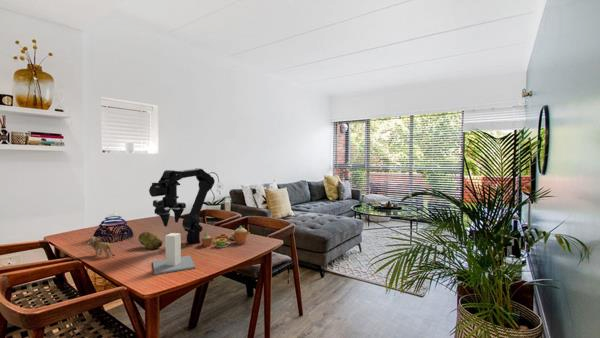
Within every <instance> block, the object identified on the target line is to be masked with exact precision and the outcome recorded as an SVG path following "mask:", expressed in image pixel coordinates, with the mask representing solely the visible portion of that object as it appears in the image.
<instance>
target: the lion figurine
mask: <svg viewBox="0 0 600 338" xmlns="http://www.w3.org/2000/svg"><path fill="white" fill-rule="evenodd" d="M101 239H102V238H100V237H99V238H97V237H93V236H91V237H90V238H89V240H88V241H87V242H86V244H87V245H88V246H89V247H90V246H91V247H92V248H93V250H94V251H95V254H94V257H97V256H99V255H102V254H103V252H104V253H105V255H106V258H105V259H108V258H110V256H112V257H116V255H115V254H113V253H112V250H111V249H112V248H111V243H109V242H108V243H107V242H105V243H104V242H102V240H101Z"/></svg>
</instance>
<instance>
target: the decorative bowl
mask: <svg viewBox="0 0 600 338" xmlns="http://www.w3.org/2000/svg"><path fill="white" fill-rule="evenodd" d="M111 228H112V229H111ZM121 233H122V234H121ZM110 234H112V235H110ZM115 235H116V236H115ZM92 237H98V238H99V239H101V240H102V242H104V243H109V244H111V242H112V243H118V241H120V242H123V240H124V241H126V239H128V240H129V237H130V239H132V238H134V232H133V229H132V228H131V227H130V226H128V221H126V219H124V218H122V216H120V215H119V213H115V212H114V213H108V214H107V216H106V217H104V220H102V221H101V222H100V224H98V227H97V229H96V230H95V231H94V233H93V236H92ZM131 237H132V238H131Z"/></svg>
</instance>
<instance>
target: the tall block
mask: <svg viewBox="0 0 600 338" xmlns="http://www.w3.org/2000/svg"><path fill="white" fill-rule="evenodd" d="M181 236H182V235H181V233H178V232H177V233H176V232H171V233H169V234H166V235H165V236H164V237H165V240H164V242H165V248H164V249H165V259H166V265H173V266H175V265H177V264H179V263H180V262H181V257H182V250H181V249H182V248H181V247H182V244H181V239H182V237H181Z"/></svg>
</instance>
